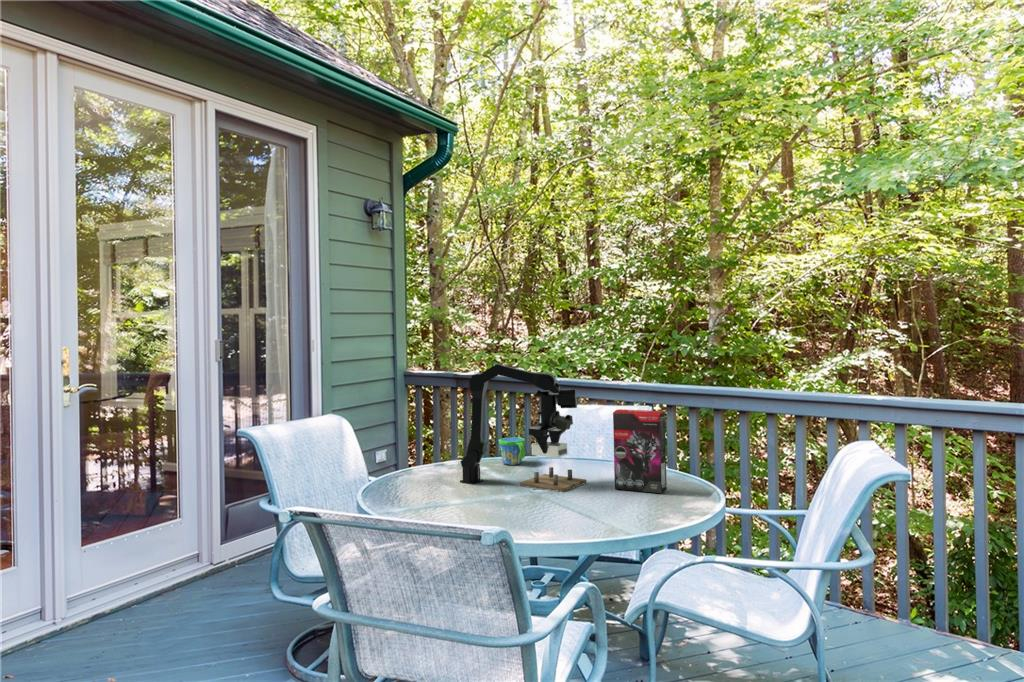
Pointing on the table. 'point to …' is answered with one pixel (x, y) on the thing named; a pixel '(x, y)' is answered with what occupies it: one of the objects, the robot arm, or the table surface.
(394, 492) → the table surface
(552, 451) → the drive
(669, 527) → the table surface
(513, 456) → the snack cup
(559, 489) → the wooden peg board
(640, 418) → the graphics card box
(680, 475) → the table surface
